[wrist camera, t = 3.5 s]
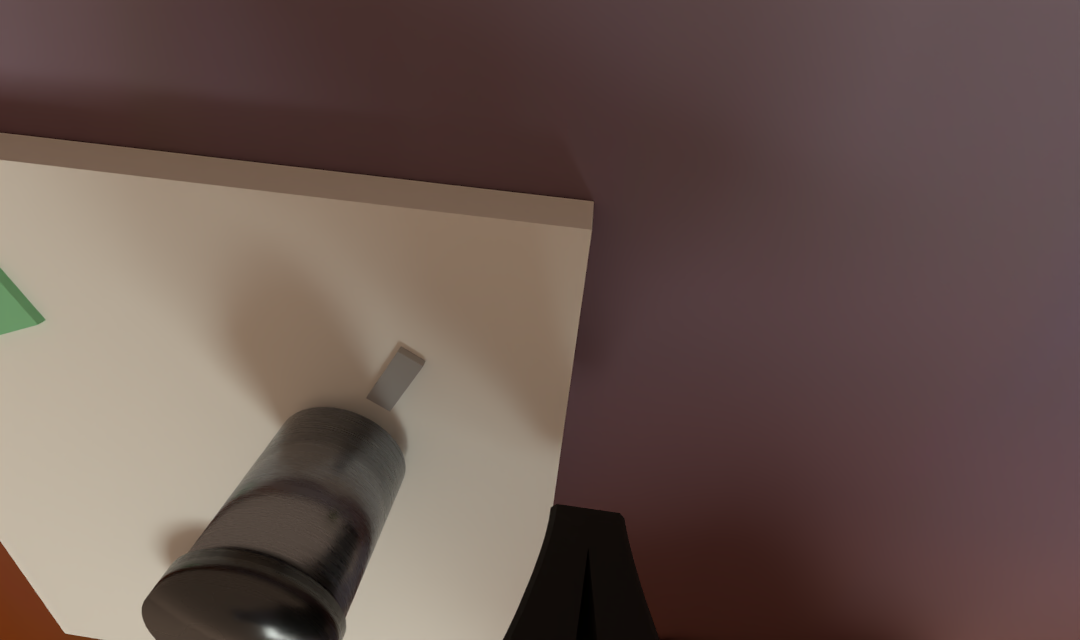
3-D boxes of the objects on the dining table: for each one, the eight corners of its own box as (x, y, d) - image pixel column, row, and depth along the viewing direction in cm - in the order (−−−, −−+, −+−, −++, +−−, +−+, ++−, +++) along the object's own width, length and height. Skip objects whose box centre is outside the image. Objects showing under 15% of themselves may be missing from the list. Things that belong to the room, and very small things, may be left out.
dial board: (594, 201, 11) (591, 234, 9) (529, 662, 20) (523, 714, 19) (-194, 110, 12) (-306, 127, 10) (97, 594, 21) (60, 638, 20)
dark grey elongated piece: (278, 652, 18) (195, 817, 14) (159, 601, 17) (40, 764, 13) (449, 459, 12) (384, 652, 9) (286, 369, 11) (141, 543, 8)
